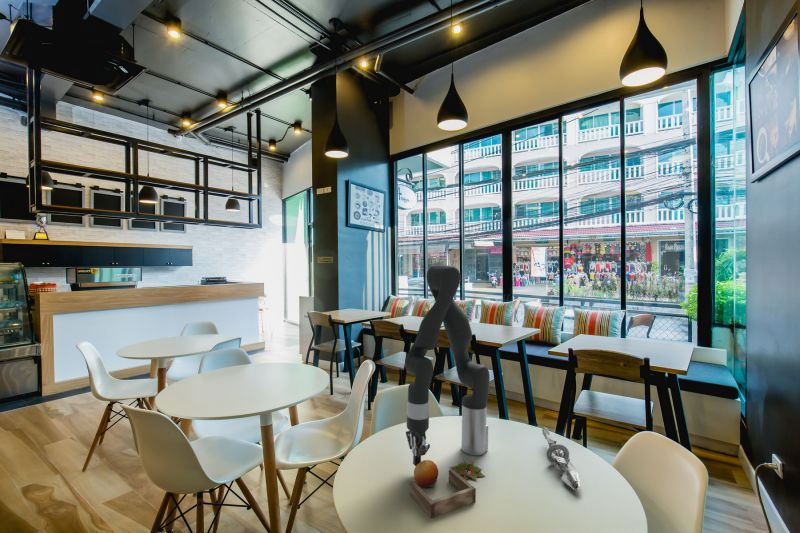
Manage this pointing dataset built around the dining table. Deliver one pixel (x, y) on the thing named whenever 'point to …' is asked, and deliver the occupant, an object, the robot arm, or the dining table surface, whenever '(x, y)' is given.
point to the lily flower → (467, 467)
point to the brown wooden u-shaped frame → (447, 502)
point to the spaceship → (561, 461)
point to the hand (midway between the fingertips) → (416, 464)
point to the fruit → (426, 473)
